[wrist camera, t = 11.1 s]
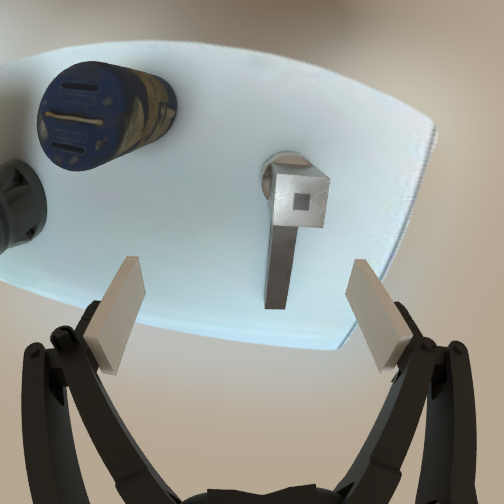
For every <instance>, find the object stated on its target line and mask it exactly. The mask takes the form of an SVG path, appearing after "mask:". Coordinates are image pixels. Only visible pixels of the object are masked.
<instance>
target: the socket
mask: <svg viewBox="0 0 504 504" xmlns="http://www.w3.org/2000/svg"><path fill="white" fill-rule="evenodd" d="M329 184H330V178H329V177H328V176H326V175H325V174H324V173H323V172H321V171H320V170H319V169H317V168H316V167H315V166H309V165H299V164H287V163H274V162H271V171H270V184H269V197H268V206H269V211H270V216H271V220H272V225H281V226H298V227H314V228H323V224H324V218H325V211H326V205H327V198H328V191H329Z"/></svg>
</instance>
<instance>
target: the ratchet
mask: <svg viewBox="0 0 504 504" xmlns="http://www.w3.org/2000/svg"><path fill="white" fill-rule="evenodd" d="M271 162H274V163H287V164H299V165H309V166H313V165H312V164H311V163H310V162H309V161H308V160H307V159H306V158H305V157H303V156H302V155H300V154H298V153H296V152H291V151H284V152H279V153H277V154H275V155H273V156H271V157H270V158H269V159H268V160H267V161H266V162H265V164H264V166H263V168H262V171H261V183H262V189H263V193H264V195H265V197H266V198H267V200H268V197H269V184H270V171H271ZM297 228H298V226H281V225H272V220H271V231H270V242H269V252H268V262H267V272H266V282H265V292H264V306H265V309H285V307H286V301H287V295H288V289H289V282H290V276H291V269H292V263H293V256H294V249H295V242H296V235H297Z"/></svg>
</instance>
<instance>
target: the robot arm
mask: <svg viewBox="0 0 504 504" xmlns="http://www.w3.org/2000/svg"><path fill="white" fill-rule="evenodd" d="M45 220H46V199H45V194H44V191H43V188H42V185H41V183H40V180H39V179H38V177H37V175H36V174H35V172H34V171H33V170H32V168H31V167H30V166H28V165H27V164H26V163H24V162H22V161H19V160H12V161H9V162H7V163H5V164H3V165H1V166H0V255H1V254H2V253H3V252H4V251H5V250H6V249H8V248H12V247H15V246H18V245H21V244H25V243H27V242H29V241H31V240H32V239H34V238H35V237H36V236H37V235H38V234H39V233H40V232H41V231H42V229H43V227H44V224H45ZM145 294H146V292H145V287H144V283H143V278H142V273H141V268H140V263H139V258H138V257H134V256H127V257H126V259H125V260H124V262H123V264H122V265H121V267H120V269H119V270H118V272H117V274H116V275H115V277H114V279H113V281H112V282H111V284H110V286H109V288H108V289H107V291H106V293H105V295H104V297H103V298H102V300H101V301H96V300H94V301H93V302H92V303H91V304H90V305H89V306H88V307H87V308H86V310H85V312H84V314H83V316H82V317H81V320H80V321H79V323H78V325H77V327H76V329H75V330H73V328H72V327H70V326H61V327H58V328H56V329H55V330H54V331H53V332H52V334H51V336H50V341H51V342H52V344H53V346H54V348H52V349H45V348H44V346H43V345H42V344H41V343H39V342H35V343H32V344H30V345H29V346H28V347H27V348H26V349H25V352H24V359H23V371H22V393H21V398H22V399H21V407H22V408H21V409H22V412H21V413H22V434H23V446H24V456H25V463H26V470H27V476H28V481H29V487H30V492H31V496H32V500H33V504H90V502H89V499H88V496H87V493H86V490H85V486H84V482H83V479H82V475H81V471H80V468H79V464H78V459H77V455H76V450H75V445H74V440H73V435H72V429H71V423H70V416H69V408H68V400H67V390H66V387H67V386H69V389H70V391H71V394H72V397H73V399H74V402H75V404H76V407H77V409H78V411H79V414H80V416H81V418H82V421H83V423H84V425H85V427H86V429H87V431H88V433H89V436H90V438H91V439H92V442H93V443H94V445H95V447H96V449H97V451H98V453H99V455H100V457H101V458H102V460H103V462H104V464H105V466H106V467H107V469H108V471H109V472H110V474H111V476H112V477H113V479H114V481H115V483H116V484H115V487H116V489H117V491H118V493H119V494H120V496H121V497H122V499H123V500H124V502H125V503H126V504H388V503H389V501H390V499H391V497H392V496H393V494H394V492H395V490H396V487H397V486H398V483H399V481H400V479H401V476H402V473H401V471H400V468H401V465H402V463H403V461H404V458H405V456H406V454H407V451H408V449H409V446H410V444H411V441H412V439H413V436H414V433H415V431H416V428H417V425H418V422H419V419H420V416H421V413H422V410H423V407H424V403H425V400H426V397H427V415H426V431H425V441H424V451H423V459H422V465H421V472H420V478H419V484H418V489H417V495H416V501H415V504H478V502H477V496H476V490H475V473H476V451H477V434H476V411H475V398H474V388H473V380H472V374H471V367H470V361H469V354H468V350H467V348H466V346H465V345H464V344H463V343H461V342H459V341H452V342H451V343H450V344H449V345H448V347H442V346H437V345H436V343H435V342H434V341H433V340H431V339H430V338H427V337H423V335H422V334H421V332H420V330H419V329H418V327H417V325H416V324H415V322H414V321H413V320H412V317H411V316H410V315H409V313H408V311H407V309H406V308H405V307H404V306H403V305H402V304H401V303H400V302H393V301H392V299H391V297H390V296H389V294H388V293H387V291H386V290H385V288H384V287H383V285H382V283H381V282H380V280H379V279H378V277H377V276H376V274H375V273H374V271H373V270H372V268H371V267H370V265H369V264H368V262H367V261H366V260H365V259H355V260H354V264H353V268H352V272H351V275H350V279H349V283H348V286H347V290H346V293H345V295H346V297H347V299H348V302H349V304H350V306H351V308H352V310H353V312H354V315H355V317H356V319H357V321H358V323H359V326H360V328H361V330H362V332H363V334H364V337H365V339H366V341H367V344H368V346H369V348H370V351H371V353H372V355H373V358H374V360H375V363H376V365H377V367H378V370H379V372H380V373H385V372H390V371H392V370H393V369H394V367H395V366H396V364H397V366H398V368H399V370H398V372H397V373H396V375H395V376H394V378H393V379H392V381H391V382H393V384H392V386H391V388H390V391H389V393H388V396H387V398H386V400H385V402H384V405H383V407H382V409H381V411H380V413H379V415H378V418H377V420H376V422H375V424H374V426H373V428H372V430H371V432H370V434H369V436H368V438H367V440H366V441H365V443H364V445H363V447H362V449H361V450H360V452H359V454H358V456H357V457H356V459H355V461H354V463H353V464H352V466H351V468H350V469H349V471H348V473H347V474H346V476H345V477H344V478H343V479H342V480H341V482H339V484H338V485H337V486H336V488H335V489H334V490H333V491H331V490H327V489H323V488H316V484H310V485H303V486H295V487H288V488H285V489H282V490H279V491H276V492H273V493H269V494H266V495H258V494H253V493H247V492H242V491H238V490H221V489H220V490H219V489H207V493H202V494H198V495H195V496H193V497H190V498H188V499H186V500H184V501H183V502H182V501H181V500H180V499H179V497H177V495H176V494H175V493H174V492H173V491H172V489H171V488H170V487H169V486H168V485H167V484H166V483H165V482H164V480H163V479H162V478H161V477H160V475H159V474H158V473H157V471H156V470H155V469H154V467H153V466H152V465H151V463H150V462H149V461H148V459H147V458H146V456H145V455H144V453H143V452H142V451H141V449H140V448H139V446H138V445H137V444H136V442H135V440H134V439H133V437H132V436H131V434H130V432H129V431H128V429H127V427H126V426H125V424H124V423H123V421H122V419H121V417H120V416H119V414H118V412H117V410H116V409H115V407H114V405H113V403H112V401H111V400H110V398H109V396H108V394H107V392H106V390H105V388H104V386H103V384H102V382H101V380H100V378H99V376H98V374H97V370H98V367H99V368H100V369H101V371H102V373H104V374H109V375H116V374H117V371H118V368H119V365H120V362H121V359H122V356H123V353H124V350H125V347H126V344H127V341H128V338H129V336H130V333H131V330H132V327H133V324H134V322H135V319H136V317H137V314H138V311H139V309H140V306H141V304H142V301H143V299H144V296H145Z"/></svg>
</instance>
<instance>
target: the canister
mask: <svg viewBox="0 0 504 504" xmlns="http://www.w3.org/2000/svg"><path fill="white" fill-rule="evenodd" d="M176 109H177V103H176V97H175V94H174V92H173V90H172V88H171V87H170V85H169V84H168V83H167V82H166V81H165V80H163V79H162V78H160V77H158V76H155V75H152V74H148V73H145V72H141V71H138V70H134V69H130V68H126V67H121V66H117V65H112V64H108V63H103V62H98V61H87V62H81V63H77V64H75V65H72V66H70V67H69V68H67V69H65V70H64V71H62V72H61V73H60V74H59V75H58V76H57V77H56V78H55V79H54V80H53V81H52V82H51V83H50V85H49V86H48V88H47V89H46V91H45V93H44V95H43V97H42V100H41V102H40V106H39V110H38V115H37V132H38V137H39V141H40V144H41V147H42V149H43V151H44V152H45V154H46V155H47V157H48V158H49V159H50V160H51V161H52V162H53V163H54V164H56V165H57V166H59V167H61V168H63V169H66V170H69V171H86V170H90V169H93V168H96V167H98V166H100V165H102V164H105V163H107V162H109V161H111V160H113V159H115V158H118V157H120V156H123V155H125V154H127V153H130V152H132V151H134V150H135V149H138V148H140V147H142V146H145V145H147V144H149V143H152V142H154V141H156V140H157V139H159V138H160V137H162V136H163V135H164V134H165V133H166V132H167V131H168V129H169V128H170V127H171V125H172V123H173V121H174V118H175V115H176Z"/></svg>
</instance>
